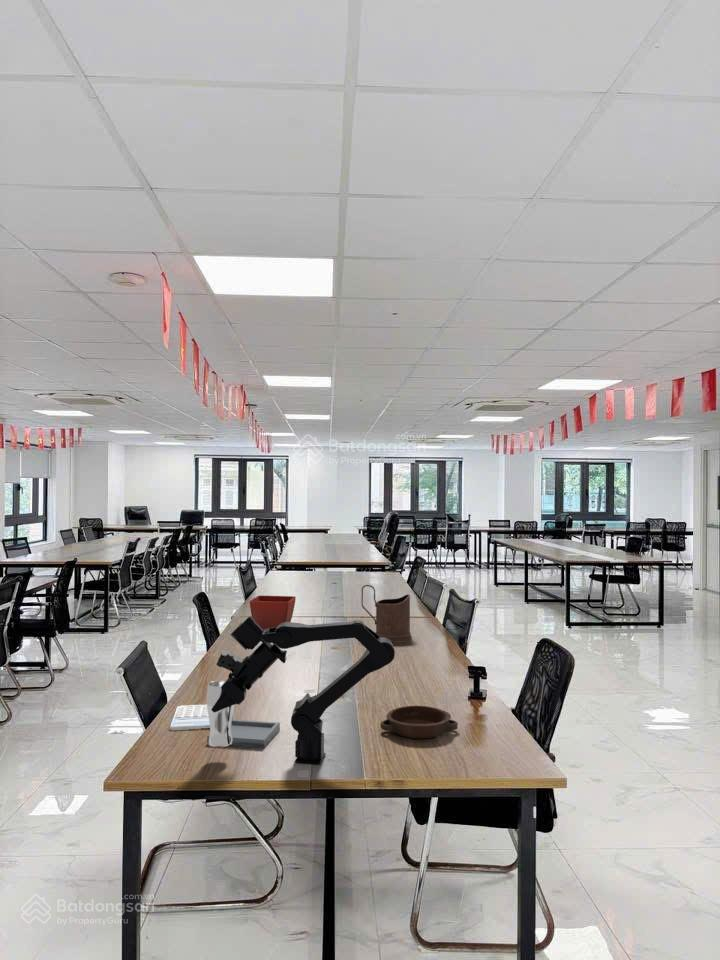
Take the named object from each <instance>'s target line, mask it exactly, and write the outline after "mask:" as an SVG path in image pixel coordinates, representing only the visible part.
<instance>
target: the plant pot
mask: <svg viewBox="0 0 720 960" xmlns="http://www.w3.org/2000/svg"><path fill="white" fill-rule="evenodd" d="M296 600H297V598H296V596H291V595H289V596H288V595H287V596H286V595H257V596H255V597H254V598H252V599H249V608H250V616H251V617H252V618H253V619H254V620H255V622H256V623H257V624H258V625H259V626H260V627H261V628H262V629H263V630H265V629H267V628H274V627H278V626H279V625H280V624H281V623H283V622H291V621H292V619H293V616H294V610H295V606H296Z"/></svg>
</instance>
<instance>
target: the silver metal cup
mask: <svg viewBox="0 0 720 960" xmlns="http://www.w3.org/2000/svg"><path fill="white" fill-rule="evenodd" d="M226 680H227V679H225V680H224V679H223V680H222V679H221V680H220V679H219V680H213V681H209V683H207V693H206V704H207V711H208V717H209V723H210V729H209V730H210V731H209V734H210V737H209V742H208V744H207V745H208V746H210V747H213V748H224V747H230V746H229V745H231V744H232V743H233V738H232V732H231V725H232V720H233V719H234V712H235V705H232V706H229V707H227V708H224V709H222V710H219V711H217V712H215V713H214V712H213V711H212V710H211V709H212V708H213V706H214V705H215V703H216V702H217V700H218V699H219V697H220V696H221V694H222V689H221V686H222V685H223V683H224V682H225V681H226Z"/></svg>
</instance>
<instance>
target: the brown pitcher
mask: <svg viewBox="0 0 720 960" xmlns="http://www.w3.org/2000/svg"><path fill="white" fill-rule="evenodd" d="M365 587H369V588H372V590H373V601H374V607H375V611H376V612H375V615H376V616H375V617H374V616H373V614H371V612H370V611H369V610H368V609H367V608H366V607H365V606H364V600H363V598H364V597H363V596H364V588H365ZM410 595H411V594H404V595H403V596H402V597H398V598H385V599H381V600H378V601H377V600H376V588H375V587H374V586H373V585H371V584H364V585H363V586H362V587H361V607H362V609H364V611H366V613H367V614H368V615H369V616H370V617H371V618H372V620H374V625H375V631H374V632H375V633H376V634H378V635H379V636H380V637H385V638H387V639H389V640H390V641H391V642H397V643H406V641H407V642H410V640H411V641H412V640H413V639H412V638H413V636H412V634H411V627H410V626H411V624H410V622H411V621H410V619H411V608H410V607H411V605H410V603H411V596H410Z"/></svg>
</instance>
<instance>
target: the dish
mask: <svg viewBox="0 0 720 960" xmlns="http://www.w3.org/2000/svg"><path fill="white" fill-rule="evenodd" d="M451 718H452V716H451V714H450V713H449V712H447V711H446V710H443V709H440V708H437V707H432V706H426V705H406V706H401V707H396V708H393V709H392V710H390V711H389V712H388V713H387V714H386V719H384V720H382V721H381V722H380V724H379V725H380V729H381V730H383V731H388V732H393V733H395V734H398V735H399V736H402V737H406V738H410V739H411V738H412V739H430V738H431V739H432V738H435V737H436V738H437V737H439V736H441V735H443V734H444V733H446V732H448V731H453V730H454V731H455V730H458V727H459V726H458V724H459V723H458V721H456V720H453V719H451Z"/></svg>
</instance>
